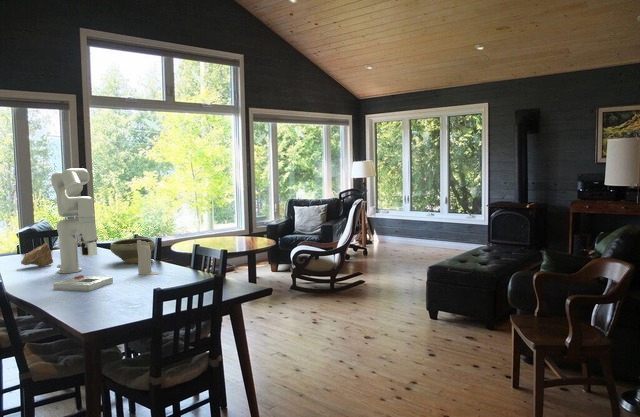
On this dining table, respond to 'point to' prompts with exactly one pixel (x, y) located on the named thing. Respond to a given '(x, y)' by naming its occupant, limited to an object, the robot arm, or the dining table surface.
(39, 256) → the stone
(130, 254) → the bowl
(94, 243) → the plug
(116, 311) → the dining table surface
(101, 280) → the socket plate
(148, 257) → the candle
